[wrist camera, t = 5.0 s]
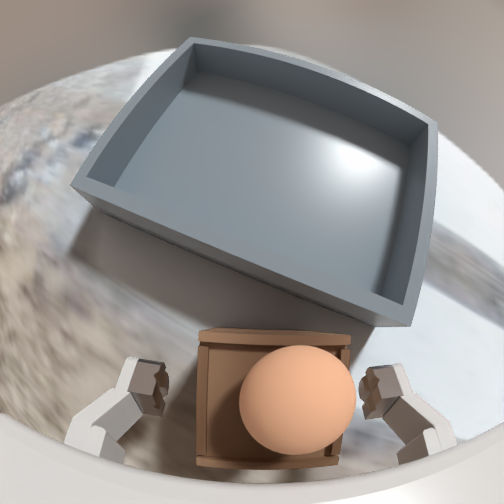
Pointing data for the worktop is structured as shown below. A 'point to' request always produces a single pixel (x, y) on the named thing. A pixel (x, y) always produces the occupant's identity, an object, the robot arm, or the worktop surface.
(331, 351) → the crate
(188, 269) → the worktop surface
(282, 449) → the ball
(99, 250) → the worktop surface
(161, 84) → the tray
